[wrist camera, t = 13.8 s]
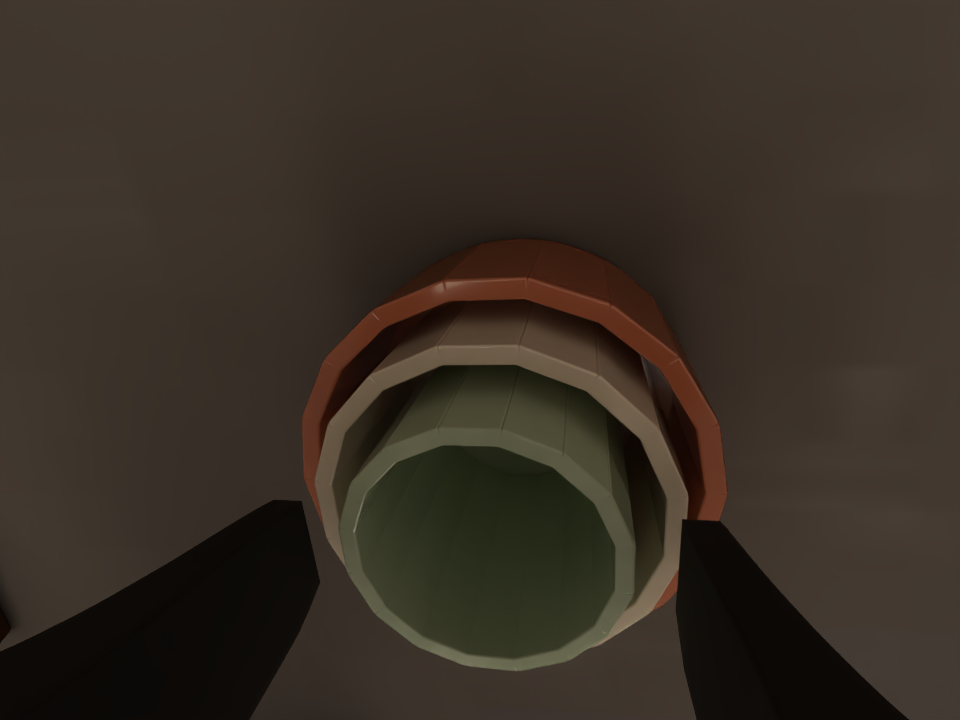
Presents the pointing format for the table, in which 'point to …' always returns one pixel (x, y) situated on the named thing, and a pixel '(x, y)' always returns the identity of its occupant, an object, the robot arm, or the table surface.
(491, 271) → the stack base cup
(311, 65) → the table surface
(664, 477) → the stack top cup
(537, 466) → the sage cup
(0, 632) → the pan flute
